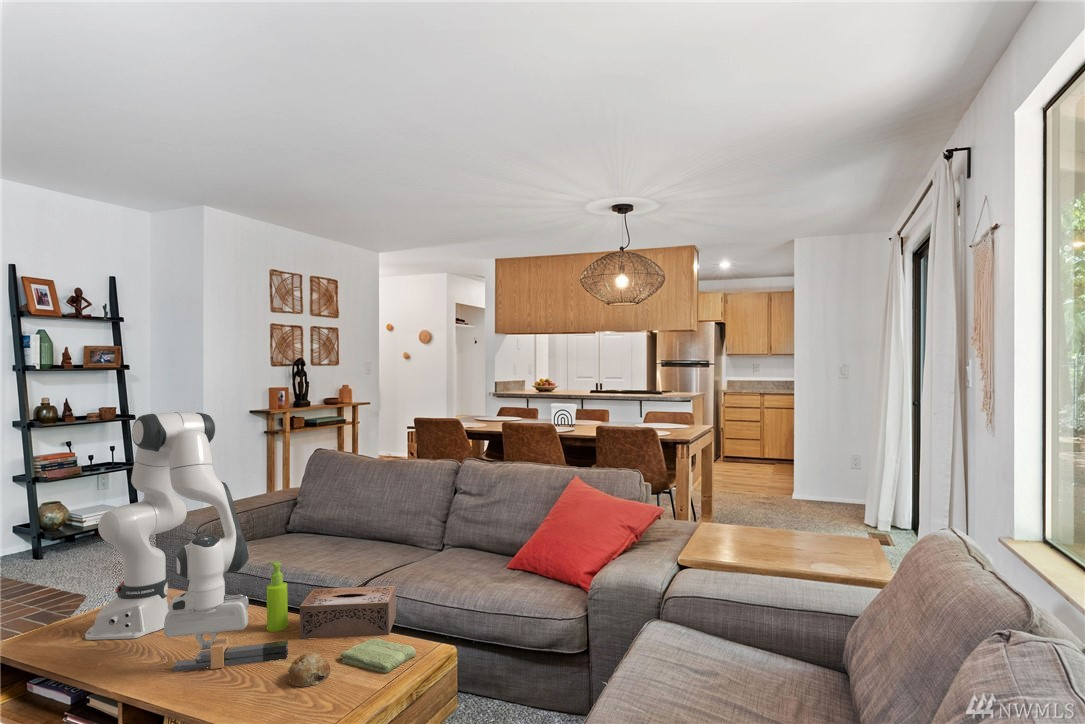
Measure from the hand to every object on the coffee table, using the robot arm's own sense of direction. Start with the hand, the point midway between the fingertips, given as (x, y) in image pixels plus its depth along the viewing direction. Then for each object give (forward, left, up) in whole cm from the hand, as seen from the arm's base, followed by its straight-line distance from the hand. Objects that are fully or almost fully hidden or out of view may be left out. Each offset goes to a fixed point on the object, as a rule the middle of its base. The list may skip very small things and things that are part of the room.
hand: (207, 648), depth 172 cm
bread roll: (+27, -14, -5) cm, 31 cm away
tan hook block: (+3, 0, -5) cm, 6 cm away
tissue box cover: (+36, +16, -5) cm, 40 cm away
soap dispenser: (+14, +22, -5) cm, 27 cm away
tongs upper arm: (+9, 0, -3) cm, 9 cm away
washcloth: (+45, -8, -5) cm, 46 cm away
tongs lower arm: (+6, 0, -5) cm, 8 cm away
